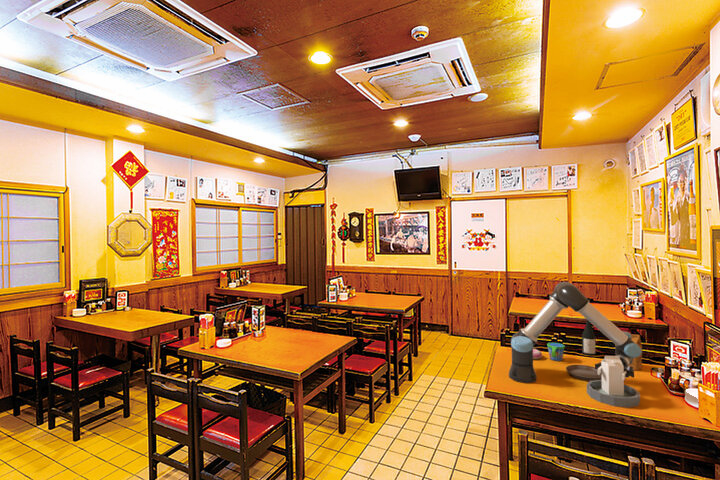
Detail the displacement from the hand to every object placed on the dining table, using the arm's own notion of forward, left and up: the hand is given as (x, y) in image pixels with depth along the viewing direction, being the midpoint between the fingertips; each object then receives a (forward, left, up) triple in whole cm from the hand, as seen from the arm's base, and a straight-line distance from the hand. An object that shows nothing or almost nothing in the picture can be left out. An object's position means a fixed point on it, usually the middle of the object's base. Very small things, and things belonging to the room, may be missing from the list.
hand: (610, 374), depth 183 cm
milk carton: (+2, +4, -11) cm, 12 cm away
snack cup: (-12, +60, -13) cm, 62 cm away
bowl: (+2, +4, -13) cm, 14 cm away
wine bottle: (+13, +78, -13) cm, 80 cm away
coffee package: (+29, +55, -13) cm, 63 cm away
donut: (-27, +61, -13) cm, 68 cm away
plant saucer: (-2, +33, -14) cm, 35 cm away
